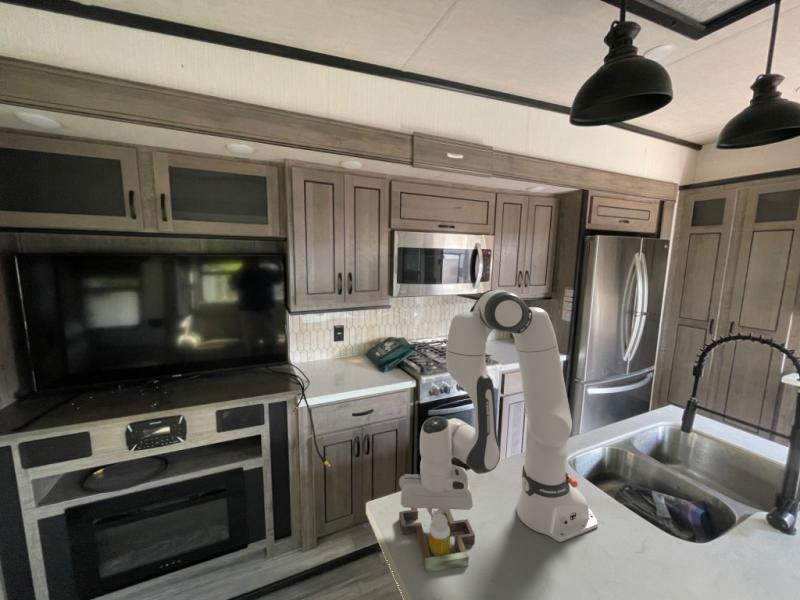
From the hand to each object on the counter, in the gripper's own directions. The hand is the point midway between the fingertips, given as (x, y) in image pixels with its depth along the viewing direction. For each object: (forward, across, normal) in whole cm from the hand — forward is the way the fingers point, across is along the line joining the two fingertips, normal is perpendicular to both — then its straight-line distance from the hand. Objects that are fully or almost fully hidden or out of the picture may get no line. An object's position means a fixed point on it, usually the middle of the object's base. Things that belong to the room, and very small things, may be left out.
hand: (436, 519), depth 95 cm
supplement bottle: (+3, 0, -8) cm, 8 cm away
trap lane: (+3, 0, -3) cm, 4 cm away
